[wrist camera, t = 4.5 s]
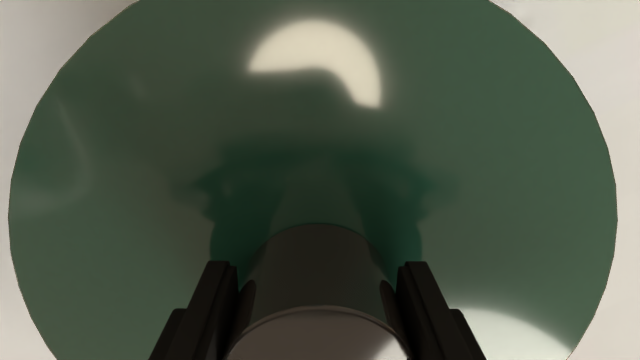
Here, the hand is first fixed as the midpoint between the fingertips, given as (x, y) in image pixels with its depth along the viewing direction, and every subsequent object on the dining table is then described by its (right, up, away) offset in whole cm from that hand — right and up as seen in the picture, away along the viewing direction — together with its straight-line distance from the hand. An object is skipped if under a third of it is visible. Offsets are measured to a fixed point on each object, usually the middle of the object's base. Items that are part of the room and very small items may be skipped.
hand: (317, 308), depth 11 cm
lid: (0, +1, +1) cm, 2 cm away
